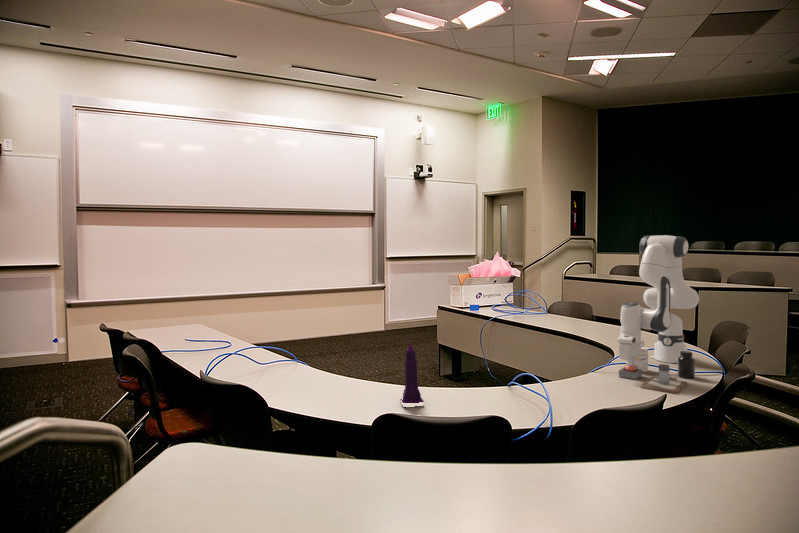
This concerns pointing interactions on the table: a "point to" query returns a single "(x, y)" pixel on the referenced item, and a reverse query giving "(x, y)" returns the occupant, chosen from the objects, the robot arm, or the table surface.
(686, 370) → the supplement bottle
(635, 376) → the button housing
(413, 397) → the building model
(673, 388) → the picture frame
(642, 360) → the ink cartridge box
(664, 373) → the grey lidded jar
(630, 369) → the button
